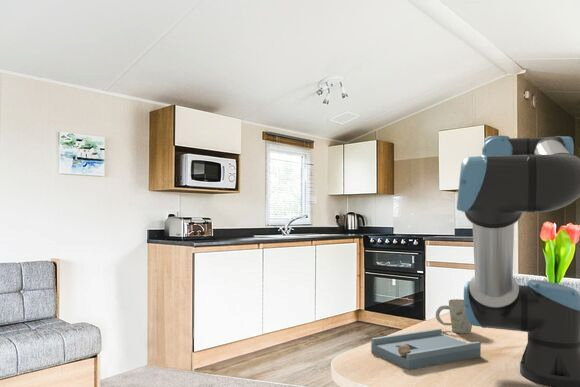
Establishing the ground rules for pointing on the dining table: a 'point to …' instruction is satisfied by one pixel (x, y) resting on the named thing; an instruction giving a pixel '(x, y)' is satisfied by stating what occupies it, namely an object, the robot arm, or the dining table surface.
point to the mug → (456, 316)
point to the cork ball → (404, 350)
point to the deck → (424, 349)
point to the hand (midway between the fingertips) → (496, 266)
